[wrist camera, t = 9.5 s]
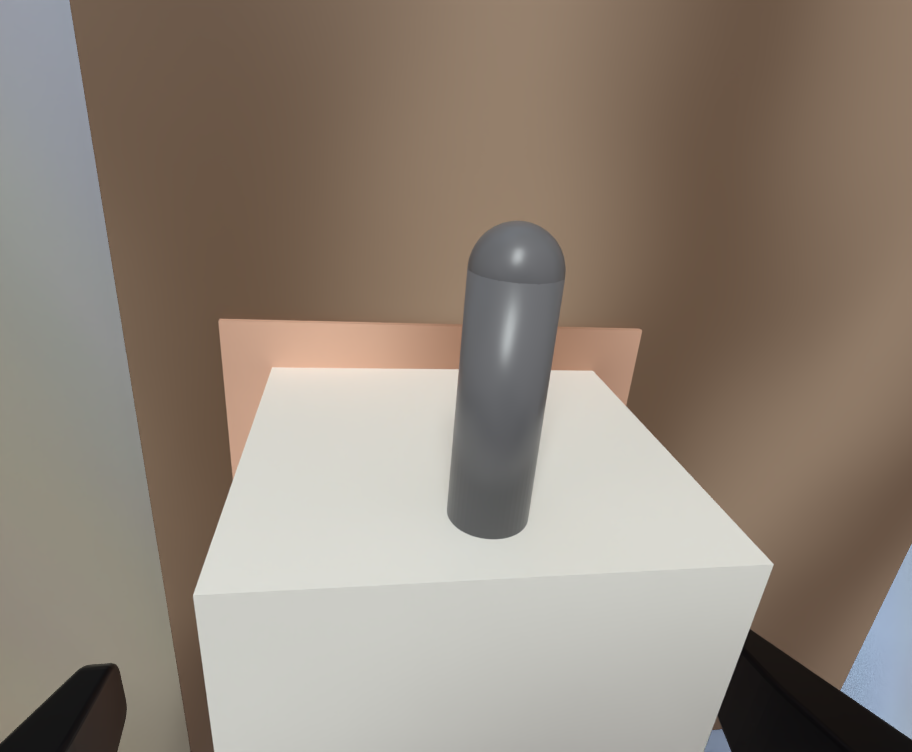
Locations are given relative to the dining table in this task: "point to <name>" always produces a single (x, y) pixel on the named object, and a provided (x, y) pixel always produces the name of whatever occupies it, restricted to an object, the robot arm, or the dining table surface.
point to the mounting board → (549, 206)
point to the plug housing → (470, 554)
